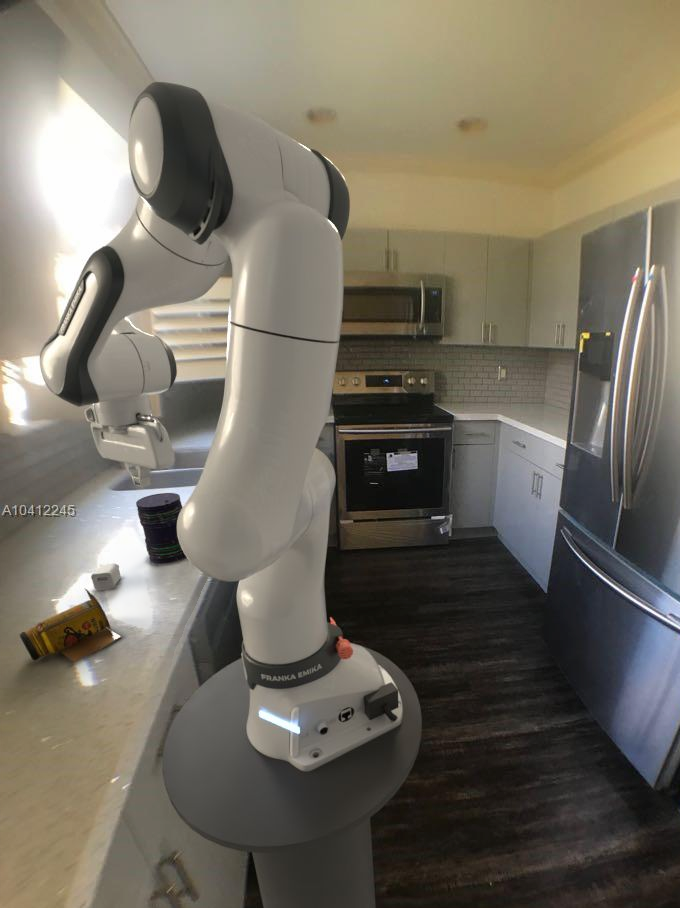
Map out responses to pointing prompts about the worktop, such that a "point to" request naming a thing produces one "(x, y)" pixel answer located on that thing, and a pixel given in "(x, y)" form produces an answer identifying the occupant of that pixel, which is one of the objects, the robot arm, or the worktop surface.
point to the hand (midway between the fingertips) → (142, 485)
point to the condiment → (65, 628)
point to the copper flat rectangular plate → (90, 645)
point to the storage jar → (161, 527)
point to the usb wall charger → (106, 576)
